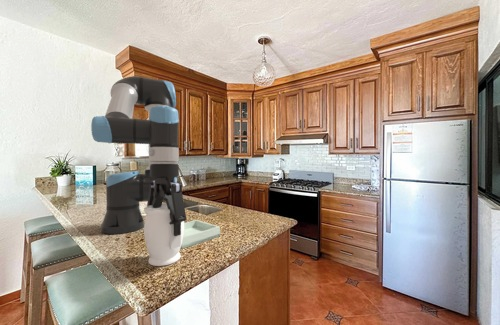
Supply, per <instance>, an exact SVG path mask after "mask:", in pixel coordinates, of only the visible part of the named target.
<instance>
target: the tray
mask: <svg viewBox="0 0 500 325" xmlns="http://www.w3.org/2000/svg"><path fill="white" fill-rule="evenodd" d="M220 236H221V227H220V226H219V225H216V224H213V223H212V224H211V223H210V222H209V223H208V222H205V221H202V220H198V219H193V220H189V221H187V222H186V221H185V222H184V234H183V240H182V245H181V248H180V250H184V249H187V248H189V247H190V248H191V247H193V246H195V245H198V244H199V245H200V244H202V243H205V242H207V241H210V240H213V239H216V238H219V237H220Z"/></svg>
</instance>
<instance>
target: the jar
mask: <svg viewBox="0 0 500 325" xmlns="http://www.w3.org/2000/svg"><path fill="white" fill-rule="evenodd" d="M143 211H144V213H145V214H146V215H145V218H144V227H143V233H144V240H145V247H146V251H147V253H148V255H149V256H150V257H149V258H148V263H149V264H148V265H151V266H154V267H155V266H156V267H164V266H168V265H172V264H174V263H176V262H178V261H179V260H180V258H181V257H182V256H181V252H180V251H181V246H180V247H177V248H174V249H170V224H169V223H170V222H171V218H170V210H169V209H168V207H167V204H166V202H162V205H161V207H159V208H153V206H152V205H150V206H147V205H146V206H145V207H144V208H143ZM184 223H185V221H183V222H181V245H182V240H183V234H184Z"/></svg>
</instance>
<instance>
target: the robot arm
mask: <svg viewBox="0 0 500 325" xmlns="http://www.w3.org/2000/svg"><path fill="white" fill-rule="evenodd" d="M110 97H111V98H110V101H109V103H108V107H107V109H106V112H105V115H99V116H94V117H93V118H92V120H91V124H90V127H91V128H90V129H91V136H92V140H94V141H95V142H97V143H105V144H106V143H107V144H136V145H138V144H139V145H142V144H143V145H148V166H147V167H146V168H145V169H144V173H140V171H139V170H132V171H125V172H123V171H122V172H116V173H111V174H109V175H108V176H107V177H106V185H105V188H106V212H105V214H104V217H103V220H102V222H101V226H100V228H101V229H100V231H101V233H102V234H104V235H105V234H106V235H109V234H110V235H118V234H119V235H121V234H126V233H132V232H135V231H139V230H141V229H142V228H144V223H145V219H144V217H143V215H142V211H141V209H140V203H142V202H147V204H146V207H147V206H150V205H152V206H153V208H159V207H161V205H162V203H164V202H163V201H165V203H166V204H167V207H168V209H169V210H170V218H171V222H170V223H169V224H170V249H174V248H177V247H180V246H181V222H183V221H184V222H186V221H187V215H186V208H185V202H184V198H183V197H184V196H183V184H182V183H181V182H179V183H178V177H179V175H180V174H179V173H180V172H179V171H180V170H179V168H180V166H179V165H180V164H178V162H179V161H180V160H179V159H180V155H179V154H180V148H179V131H180V130H179V125H180V124H179V123H180V119H179V111H178V109H176V106H177V100H176V99H177V97H176V89H175V85H174V83H172V82H171V81H168V80H164V79H155V78H149V77H142V76H127V77H124V78H121V79H119V80H117V81H116V82H115V83H114V84H113V85H112V87H111V89H110ZM135 105H141V106H142V105H143V106H144V109H145V111H146V112H147V113H148V119H140V118H139V119H138V118H133V117H134V116H133V115H134V109H135Z"/></svg>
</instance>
